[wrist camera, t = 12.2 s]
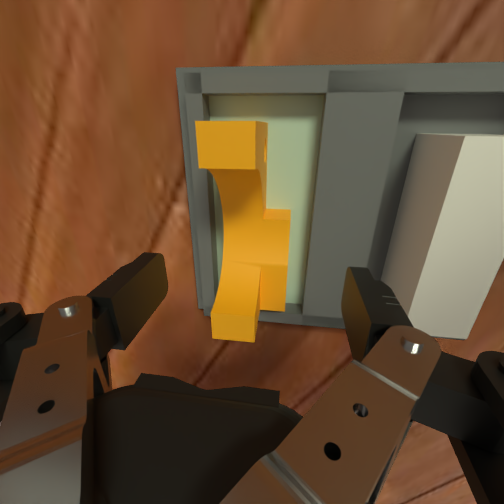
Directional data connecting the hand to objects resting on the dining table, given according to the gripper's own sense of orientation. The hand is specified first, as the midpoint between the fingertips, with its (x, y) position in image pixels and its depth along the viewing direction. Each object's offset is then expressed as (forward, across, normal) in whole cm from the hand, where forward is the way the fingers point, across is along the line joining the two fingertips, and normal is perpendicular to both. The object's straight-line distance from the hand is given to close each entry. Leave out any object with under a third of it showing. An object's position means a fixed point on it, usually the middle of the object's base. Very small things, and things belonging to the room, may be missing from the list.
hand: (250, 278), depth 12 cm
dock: (+10, -5, 0) cm, 11 cm away
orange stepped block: (+9, +1, 0) cm, 9 cm away
